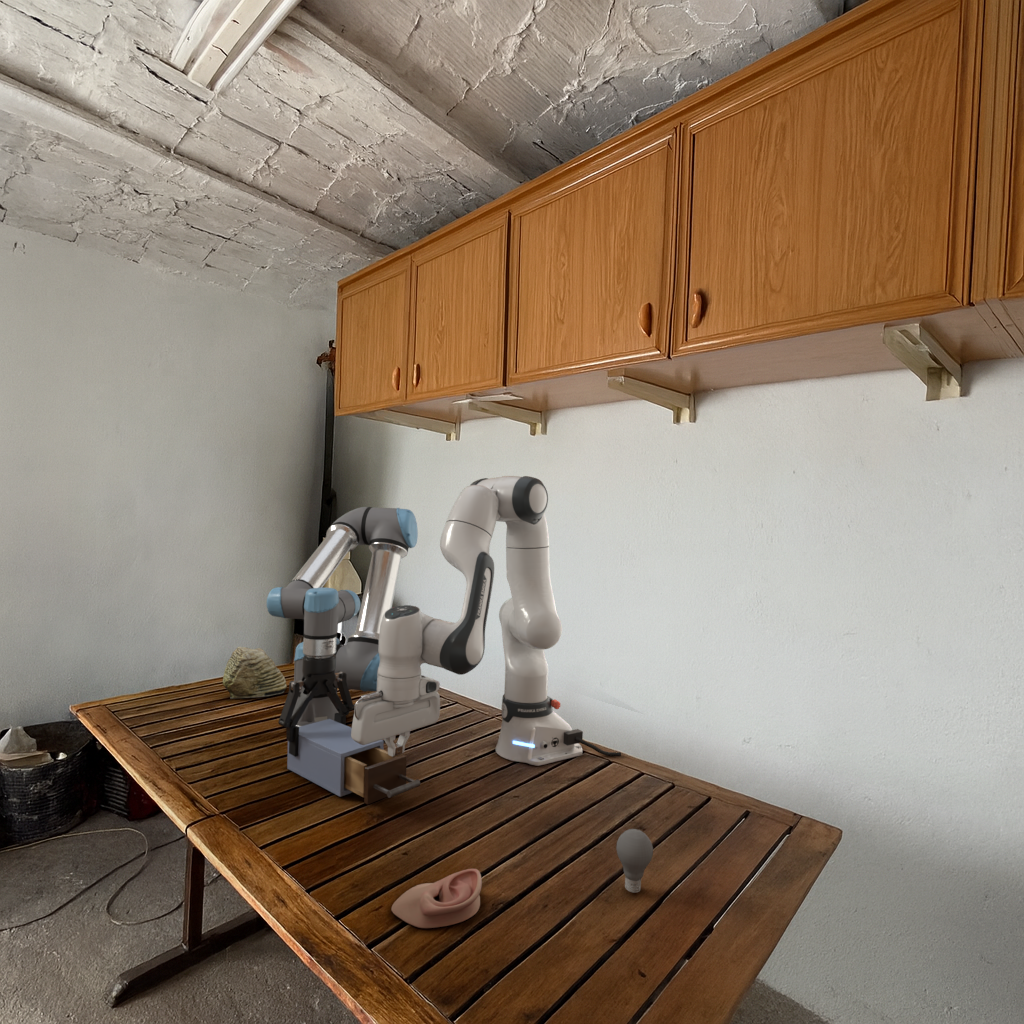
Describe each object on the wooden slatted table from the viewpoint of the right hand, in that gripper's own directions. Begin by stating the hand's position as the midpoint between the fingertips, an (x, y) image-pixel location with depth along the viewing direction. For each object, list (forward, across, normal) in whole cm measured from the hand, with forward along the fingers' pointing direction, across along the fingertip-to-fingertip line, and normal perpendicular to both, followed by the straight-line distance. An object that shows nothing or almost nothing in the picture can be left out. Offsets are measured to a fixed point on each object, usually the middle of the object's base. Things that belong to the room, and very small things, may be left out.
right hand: (396, 754), depth 129 cm
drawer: (+10, 0, +10) cm, 14 cm away
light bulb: (+12, +12, -49) cm, 52 cm away
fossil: (+12, +14, +88) cm, 90 cm away
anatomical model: (+12, -14, -29) cm, 34 cm away
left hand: (+7, 0, +29) cm, 30 cm away
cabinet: (+11, 0, +22) cm, 25 cm away
